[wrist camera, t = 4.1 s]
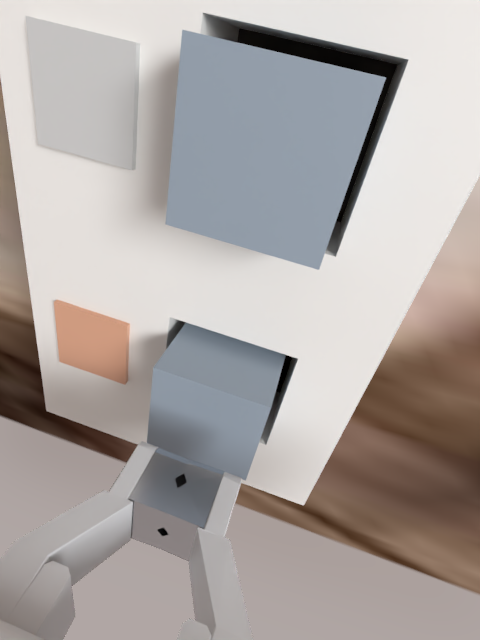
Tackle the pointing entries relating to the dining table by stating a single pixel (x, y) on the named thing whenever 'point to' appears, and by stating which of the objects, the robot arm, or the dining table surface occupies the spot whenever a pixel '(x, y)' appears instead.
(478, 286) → the dining table surface
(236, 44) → the middle button
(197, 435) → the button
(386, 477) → the dining table surface
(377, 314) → the button panel
